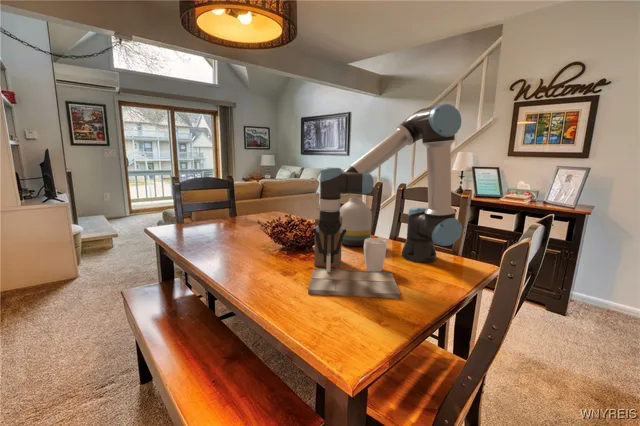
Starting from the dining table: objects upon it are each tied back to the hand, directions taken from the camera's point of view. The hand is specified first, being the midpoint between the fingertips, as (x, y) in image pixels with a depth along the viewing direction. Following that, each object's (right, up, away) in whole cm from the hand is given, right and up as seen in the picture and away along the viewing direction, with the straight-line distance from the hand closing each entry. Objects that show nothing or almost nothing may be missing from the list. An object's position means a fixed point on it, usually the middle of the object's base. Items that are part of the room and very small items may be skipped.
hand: (328, 270), depth 116 cm
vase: (+15, +6, +44) cm, 47 cm away
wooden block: (0, 0, +15) cm, 15 cm away
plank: (+9, -3, -2) cm, 10 cm away
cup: (+19, -1, +8) cm, 21 cm away
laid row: (+8, -4, -12) cm, 15 cm away
